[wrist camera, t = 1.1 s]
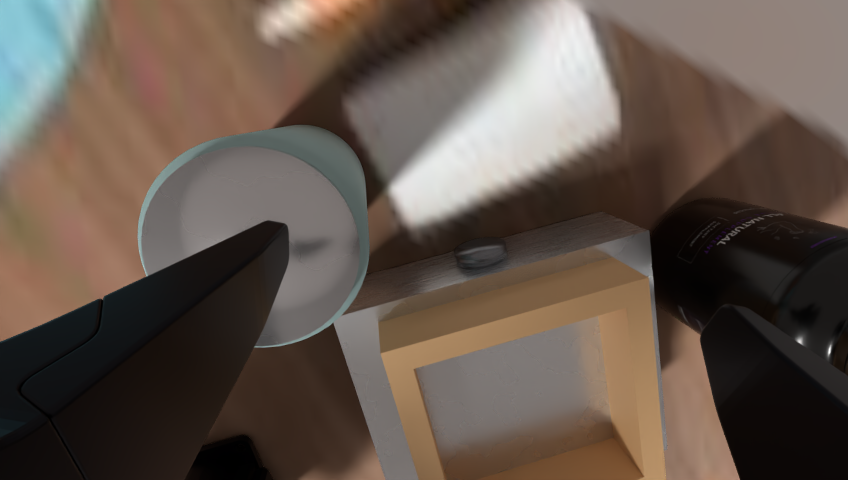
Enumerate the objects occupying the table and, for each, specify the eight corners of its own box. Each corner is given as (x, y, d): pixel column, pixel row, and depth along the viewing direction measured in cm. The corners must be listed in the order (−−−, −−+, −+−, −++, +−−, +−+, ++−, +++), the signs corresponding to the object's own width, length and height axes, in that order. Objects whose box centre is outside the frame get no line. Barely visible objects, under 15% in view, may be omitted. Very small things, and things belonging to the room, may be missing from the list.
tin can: (267, 255, 21) (184, 380, 11) (225, 141, 20) (86, 170, 10) (378, 226, 22) (393, 321, 12) (347, 111, 20) (333, 109, 10)
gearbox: (396, 469, 26) (408, 583, 19) (333, 271, 22) (322, 334, 16) (623, 401, 26) (703, 488, 20) (599, 200, 23) (689, 232, 17)
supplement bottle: (686, 171, 23) (1008, 230, 12) (773, 230, 25) (1130, 331, 13) (612, 283, 24) (837, 435, 13) (700, 331, 26) (969, 503, 14)
